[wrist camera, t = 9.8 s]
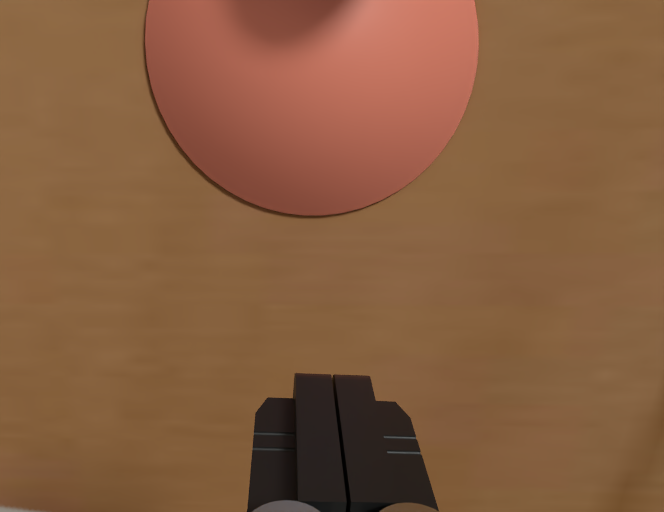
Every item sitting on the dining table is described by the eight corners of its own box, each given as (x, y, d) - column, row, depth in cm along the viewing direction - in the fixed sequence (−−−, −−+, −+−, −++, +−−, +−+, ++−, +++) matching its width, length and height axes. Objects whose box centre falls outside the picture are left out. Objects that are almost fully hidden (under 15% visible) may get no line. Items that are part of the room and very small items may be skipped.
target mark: (504, -115, 24) (506, -116, 24) (450, 223, 29) (451, 224, 29) (141, -156, 23) (140, -157, 23) (149, 204, 28) (148, 206, 28)
